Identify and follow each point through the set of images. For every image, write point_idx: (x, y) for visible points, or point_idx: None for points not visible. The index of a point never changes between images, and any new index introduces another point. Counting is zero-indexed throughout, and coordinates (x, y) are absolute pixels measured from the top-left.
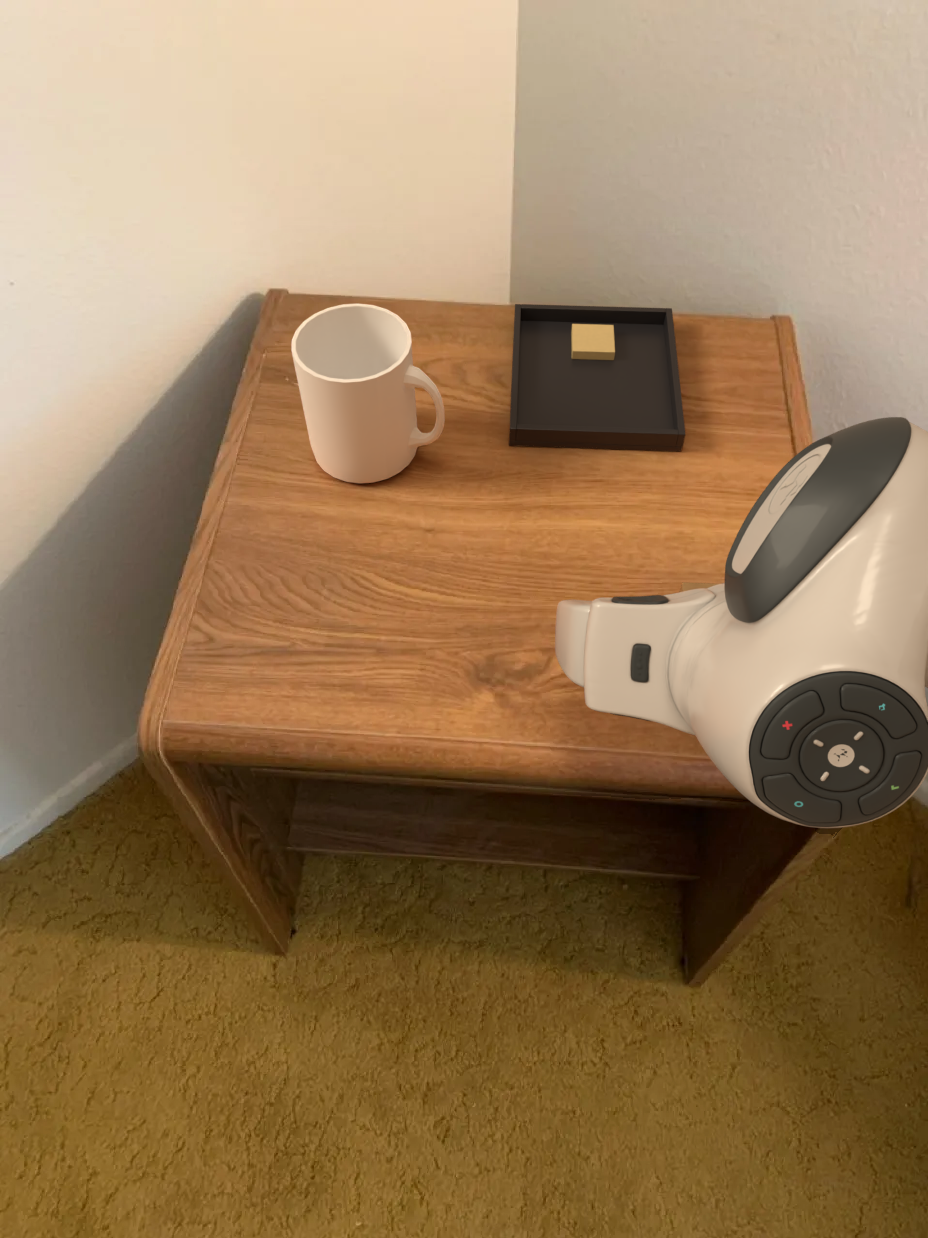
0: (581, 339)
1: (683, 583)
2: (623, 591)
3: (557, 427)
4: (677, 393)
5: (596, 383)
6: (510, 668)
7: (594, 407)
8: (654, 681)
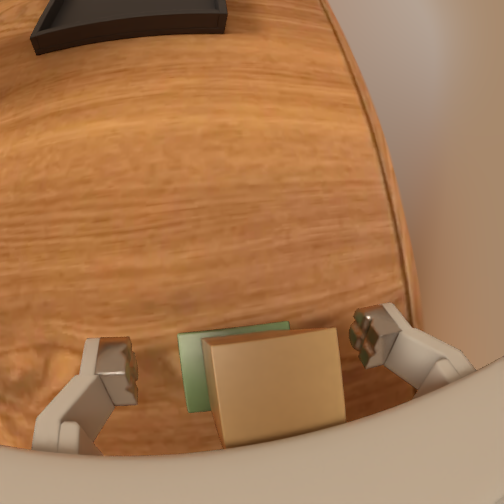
0: None
1: (214, 350)
2: (140, 229)
3: (78, 23)
4: None
5: None
6: (7, 378)
7: (131, 3)
8: None
